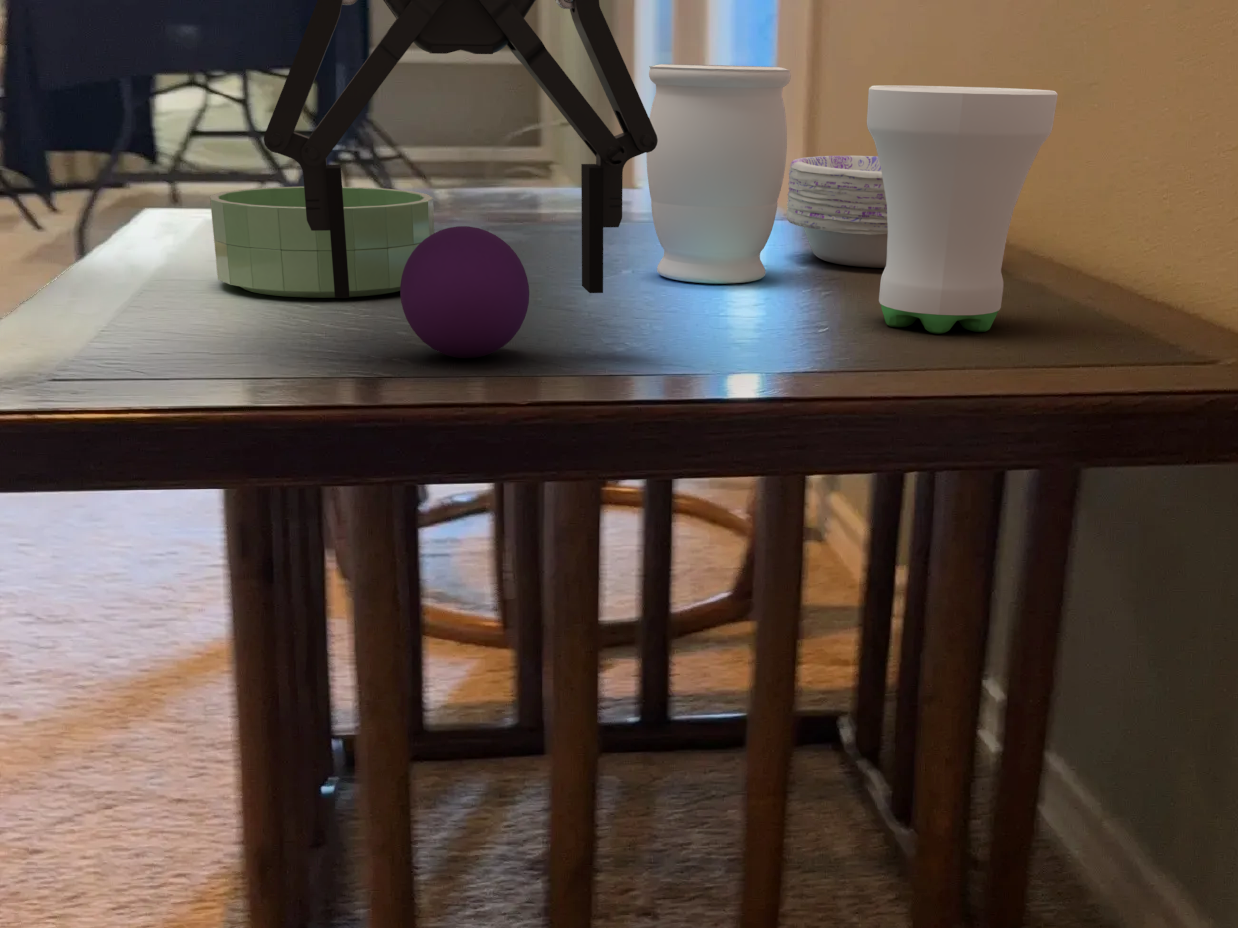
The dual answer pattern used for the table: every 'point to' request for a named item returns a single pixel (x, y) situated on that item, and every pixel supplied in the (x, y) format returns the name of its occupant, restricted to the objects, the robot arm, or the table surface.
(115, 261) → the table surface
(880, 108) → the cup
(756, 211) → the jar
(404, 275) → the ball
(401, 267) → the bowl
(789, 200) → the paper bowls
